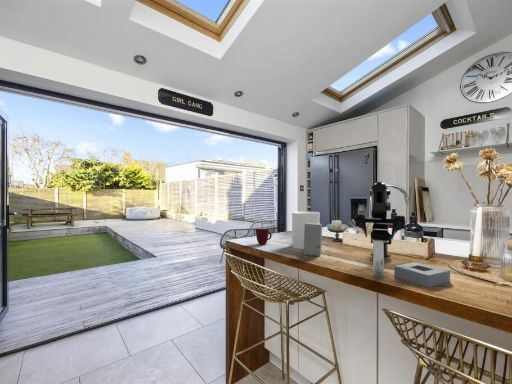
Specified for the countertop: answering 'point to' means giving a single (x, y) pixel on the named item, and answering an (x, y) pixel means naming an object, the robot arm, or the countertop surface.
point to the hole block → (422, 274)
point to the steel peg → (378, 258)
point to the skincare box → (313, 239)
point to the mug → (263, 235)
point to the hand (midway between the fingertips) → (378, 237)
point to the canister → (302, 226)
